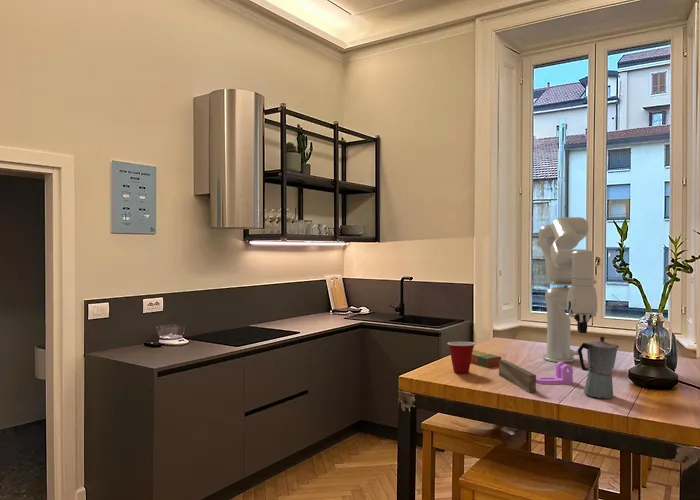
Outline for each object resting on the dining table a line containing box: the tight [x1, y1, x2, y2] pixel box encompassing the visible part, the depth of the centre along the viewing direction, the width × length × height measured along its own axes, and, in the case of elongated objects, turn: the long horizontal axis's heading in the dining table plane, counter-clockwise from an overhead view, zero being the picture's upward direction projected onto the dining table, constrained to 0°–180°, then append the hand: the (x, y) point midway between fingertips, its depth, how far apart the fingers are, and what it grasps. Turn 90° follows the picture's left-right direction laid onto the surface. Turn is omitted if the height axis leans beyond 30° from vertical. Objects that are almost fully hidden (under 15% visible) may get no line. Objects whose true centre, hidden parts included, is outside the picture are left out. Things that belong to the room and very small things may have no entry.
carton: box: [471, 349, 502, 369], centre depth 229 cm, size 8×16×4 cm, turn 31°
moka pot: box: [577, 336, 620, 400], centre depth 181 cm, size 10×15×20 cm, turn 106°
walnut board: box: [498, 359, 537, 394], centre depth 196 cm, size 2×24×6 cm, turn 9°
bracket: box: [536, 362, 574, 385], centre depth 199 cm, size 13×6×7 cm, turn 95°
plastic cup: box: [447, 341, 476, 375], centre depth 213 cm, size 11×11×12 cm
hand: (582, 332), depth 200 cm, fingers closed
